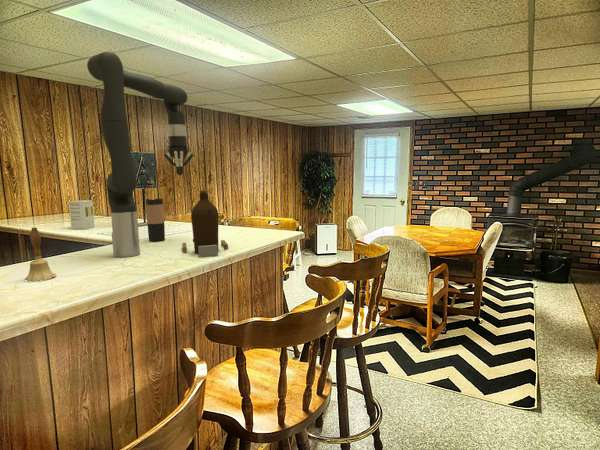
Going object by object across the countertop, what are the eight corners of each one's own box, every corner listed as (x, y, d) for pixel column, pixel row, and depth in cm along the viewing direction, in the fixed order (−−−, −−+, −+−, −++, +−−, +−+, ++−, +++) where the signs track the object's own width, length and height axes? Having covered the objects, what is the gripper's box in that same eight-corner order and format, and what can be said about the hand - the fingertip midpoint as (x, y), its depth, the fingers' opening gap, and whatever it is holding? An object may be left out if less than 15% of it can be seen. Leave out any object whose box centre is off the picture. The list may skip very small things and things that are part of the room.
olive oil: (225, 250, 155) (222, 189, 152) (209, 255, 145) (206, 190, 142) (204, 248, 159) (201, 189, 156) (187, 253, 150) (183, 190, 146)
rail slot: (183, 253, 151) (182, 248, 151) (182, 247, 162) (182, 243, 162) (228, 249, 157) (228, 244, 157) (224, 244, 168) (224, 240, 168)
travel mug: (159, 242, 176) (156, 199, 173) (145, 242, 178) (142, 199, 175) (168, 239, 183) (165, 198, 181) (154, 239, 185) (151, 198, 182)
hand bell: (21, 283, 111) (14, 230, 109) (28, 276, 119) (22, 226, 117) (53, 280, 115) (48, 228, 113) (58, 273, 122) (53, 225, 120)
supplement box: (86, 229, 223) (83, 201, 220) (70, 229, 223) (68, 201, 221) (95, 227, 232) (92, 200, 230) (80, 227, 232) (77, 200, 230)
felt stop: (199, 257, 143) (198, 247, 142) (198, 256, 145) (198, 246, 144) (217, 255, 145) (217, 245, 144) (217, 254, 147) (216, 244, 146)
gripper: (161, 134, 161) (164, 175, 163) (193, 135, 165) (195, 175, 167) (161, 136, 168) (164, 175, 170) (192, 136, 172) (194, 175, 174)
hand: (179, 175), depth 169 cm, fingers closed
